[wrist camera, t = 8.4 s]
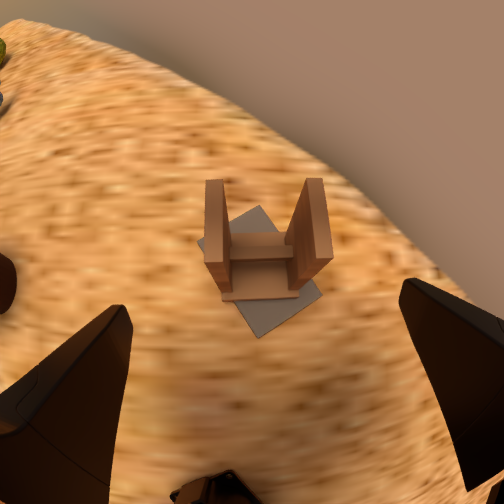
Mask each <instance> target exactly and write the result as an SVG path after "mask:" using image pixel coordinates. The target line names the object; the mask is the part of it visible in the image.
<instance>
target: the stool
mask: <svg viewBox="0 0 504 504" xmlns="http://www.w3.org/2000/svg"><path fill="white" fill-rule="evenodd" d="M333 258H334V255H333V247H332V239H331V231H330V224H329V217H328V210H327V204H326V197H325V191H324V185H323V179H322V178H306V180H305V183H304V186H303V189H302V192H301V194H300V197H299V200H298V202H297V205H296V208H295V211H294V213H293V216H292V219H291V222H290V224H289V227H288V230H287V232H259V233H230V227H229V220H228V213H227V206H226V199H225V193H224V186H223V179H217V180H206V188H205V226H204V263H205V265H206V267H207V268H208V270H209V272H210V274H211V275H212V277H213V279H214V281H215V282H216V284H217V286H218V288H219V289H220V291H221V293H222V301H223V302H228V301H258V300H280V299H297V298H298V297H299V289H300V288H301V287H303V286H304V285H305V284H306V283H307V282H308V281H309V280H310V279H311V278H312V277H314V276H315V275H316V274H317V273H318V272H319V271H320V270H321V269H322V268H323V267H324V266H325V265H327V264H328V263H329V262H330V261H331V260H332V259H333Z"/></svg>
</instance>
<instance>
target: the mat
mask: <svg viewBox="0 0 504 504" xmlns="http://www.w3.org/2000/svg"><path fill="white" fill-rule="evenodd" d="M229 227H230V233H259V232H279V231H278V230H277V228H276V227H275V226H274V224H273V223H272V221H271V220H270V219H269V217H268V216H267V214H266V213H265V212H264V210H263V209H262V208H261V206H260V205H258V206H256V207H255V208H253V209H251V210H249V211H248V212H246V213H244V214H242V215H241V216H239V217H237V218H235V219H234V220H232V221H230V222H229ZM197 243H198V244H199V246H200V248H201V249H202V251H203V253H204V237H203V238H201V239H200V240H198V241H197ZM320 296H322V294H321V292H320V291H319V289H318V288H317V286H316V285H315V283H314V282H313V280H312V279H310V280H309V281H308V282H307V283H306V284H305V285H304V286H303V287H301V288H300V289H299V297H298V298H297V299H280V300H258V301H234V303H235V304H236V306H237V307H238V309H239V310H240V312H241V314H242V315H243V317H244V318H245V320H246V321H247V323H248V324H249V326H250V327H251V329H252V331H253V332H254V334H255V335H256V337H257V338H259V337H261V336H262V335H264V334H266V333H267V332H269V331H270V330H272V329H273V328H275V327H276V326H278V325H279V324H281V323H282V322H284V321H285V320H287V319H288V318H290V317H291V316H293V315H294V314H296V313H297V312H299V311H300V310H302V309H303V308H305V307H306V306H308V305H309V304H310V303H312V302H313V301H315V300H316V299H318V298H319V297H320Z"/></svg>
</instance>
